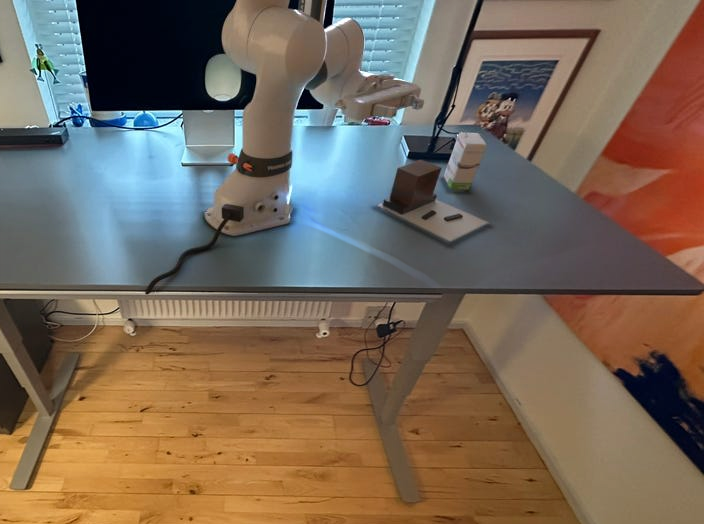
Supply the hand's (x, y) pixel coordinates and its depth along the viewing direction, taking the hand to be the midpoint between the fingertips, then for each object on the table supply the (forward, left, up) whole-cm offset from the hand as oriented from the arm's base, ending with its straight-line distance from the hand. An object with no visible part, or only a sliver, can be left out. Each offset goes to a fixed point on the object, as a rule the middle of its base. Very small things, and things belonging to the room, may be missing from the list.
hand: (408, 109), depth 91 cm
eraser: (0, -7, -19) cm, 20 cm away
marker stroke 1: (-1, -14, -19) cm, 24 cm away
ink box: (+19, -7, -20) cm, 29 cm away
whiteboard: (0, -14, -20) cm, 24 cm away
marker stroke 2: (+2, -18, -19) cm, 26 cm away
